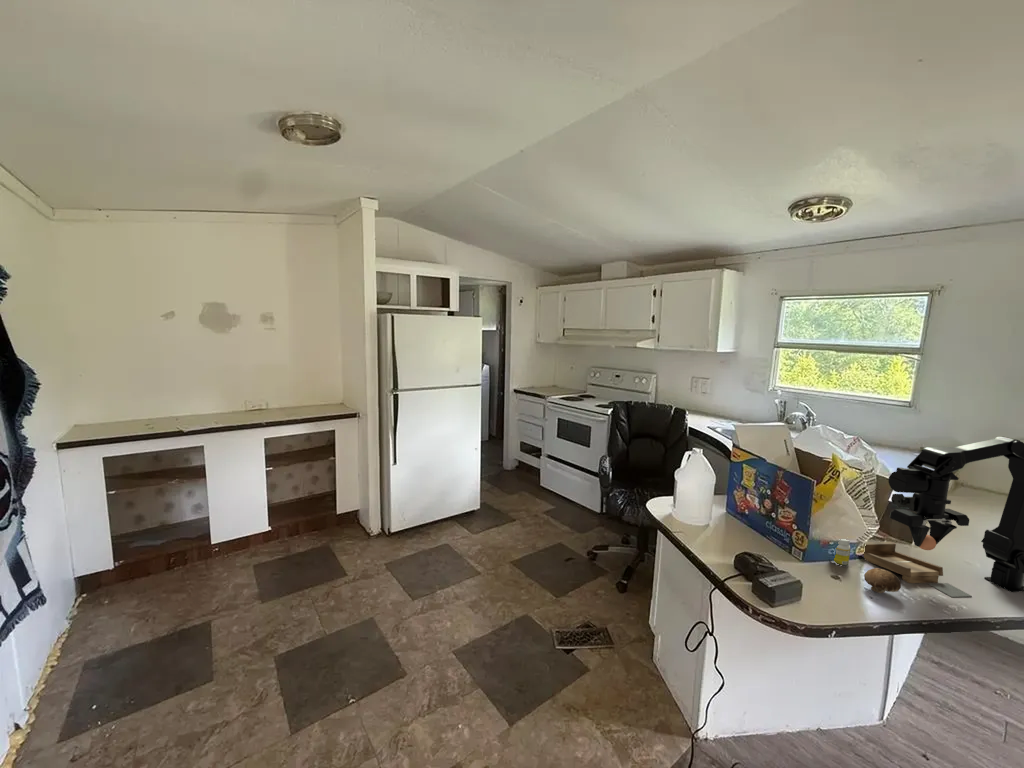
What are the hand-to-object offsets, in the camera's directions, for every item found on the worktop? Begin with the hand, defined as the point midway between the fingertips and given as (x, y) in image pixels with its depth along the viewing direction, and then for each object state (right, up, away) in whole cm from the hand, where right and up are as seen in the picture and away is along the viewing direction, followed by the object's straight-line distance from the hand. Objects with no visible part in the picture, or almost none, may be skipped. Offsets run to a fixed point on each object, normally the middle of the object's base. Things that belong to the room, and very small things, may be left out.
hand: (924, 545), depth 122 cm
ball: (0, -1, 0) cm, 1 cm away
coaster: (+4, -11, -3) cm, 12 cm away
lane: (-1, -10, +7) cm, 12 cm away
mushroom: (-17, -11, -5) cm, 21 cm away
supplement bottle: (-17, -9, +10) cm, 22 cm away
